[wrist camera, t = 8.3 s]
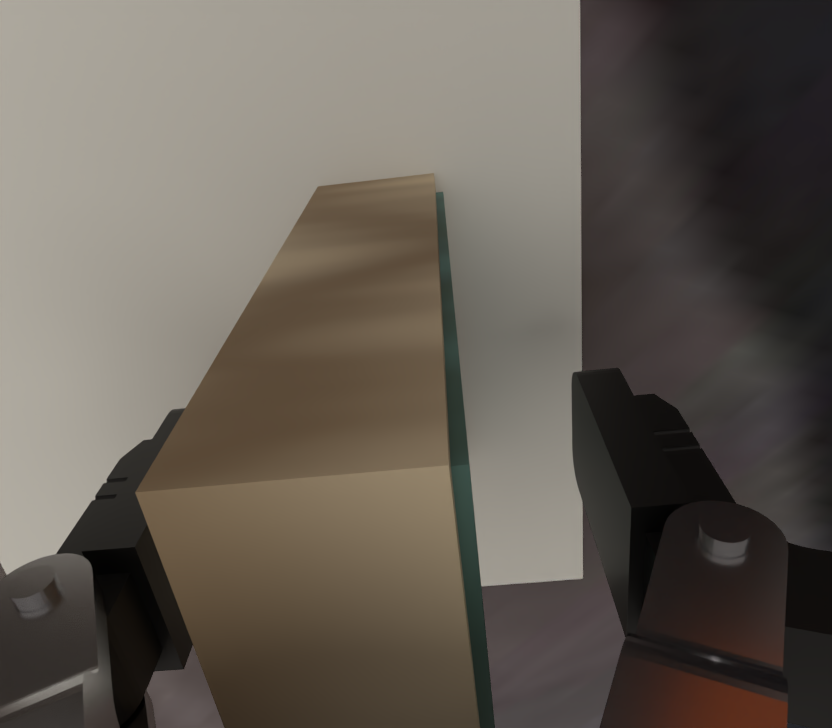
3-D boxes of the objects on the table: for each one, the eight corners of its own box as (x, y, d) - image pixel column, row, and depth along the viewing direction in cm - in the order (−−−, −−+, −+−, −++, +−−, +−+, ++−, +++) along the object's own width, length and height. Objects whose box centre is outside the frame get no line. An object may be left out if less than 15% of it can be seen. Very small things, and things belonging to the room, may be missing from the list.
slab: (441, 172, 14) (470, 462, 5) (468, 454, 17) (514, 936, 8) (318, 186, 14) (135, 492, 5) (367, 463, 17) (307, 945, 8)
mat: (574, -111, 12) (579, -114, 12) (580, 568, 19) (582, 578, 19) (-272, 8, 13) (-292, 7, 13) (37, 609, 20) (30, 620, 20)
